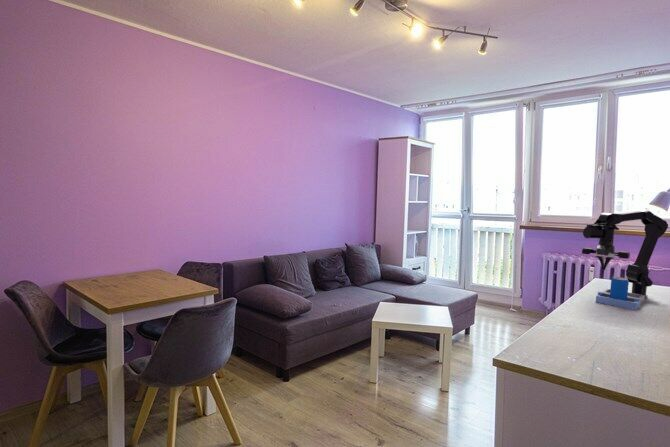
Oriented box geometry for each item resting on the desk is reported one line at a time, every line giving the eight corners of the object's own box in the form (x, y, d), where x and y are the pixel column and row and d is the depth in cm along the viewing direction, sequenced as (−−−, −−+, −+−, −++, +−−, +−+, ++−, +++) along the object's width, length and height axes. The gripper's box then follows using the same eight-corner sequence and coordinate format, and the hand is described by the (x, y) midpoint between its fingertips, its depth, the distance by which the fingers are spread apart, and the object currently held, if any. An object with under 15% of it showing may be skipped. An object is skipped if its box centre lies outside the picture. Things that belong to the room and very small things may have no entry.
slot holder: (605, 294, 194) (606, 286, 193) (644, 301, 183) (645, 293, 182) (595, 302, 179) (595, 293, 179) (636, 310, 168) (637, 301, 168)
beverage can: (620, 302, 180) (623, 277, 179) (629, 306, 174) (632, 280, 173) (606, 301, 181) (608, 276, 180) (614, 305, 174) (616, 279, 173)
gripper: (580, 237, 189) (577, 269, 191) (627, 242, 176) (624, 275, 178) (585, 236, 197) (583, 266, 198) (631, 240, 184) (628, 272, 185)
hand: (603, 270), depth 190 cm, fingers closed
